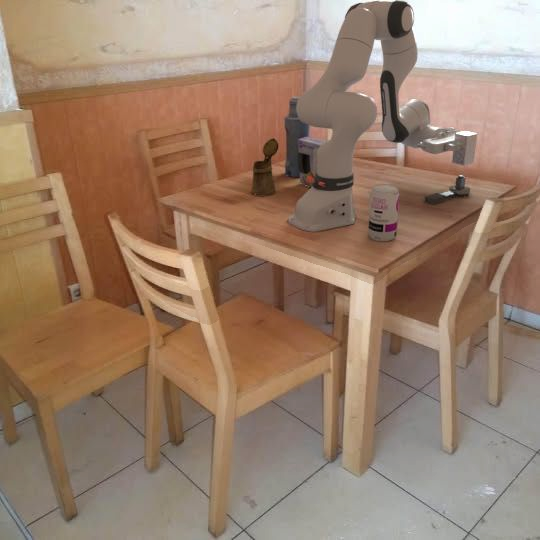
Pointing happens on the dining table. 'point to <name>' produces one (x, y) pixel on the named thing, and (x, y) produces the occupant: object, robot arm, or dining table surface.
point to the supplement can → (383, 212)
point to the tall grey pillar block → (465, 148)
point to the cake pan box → (308, 158)
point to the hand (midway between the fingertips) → (466, 147)
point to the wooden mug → (264, 171)
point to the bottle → (293, 138)
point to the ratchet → (450, 192)
